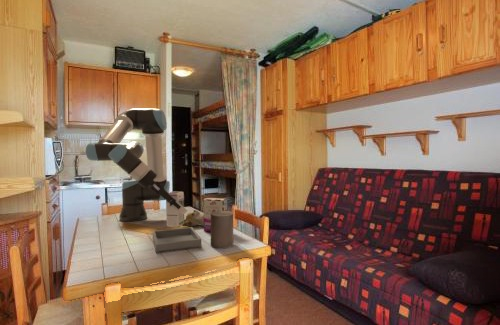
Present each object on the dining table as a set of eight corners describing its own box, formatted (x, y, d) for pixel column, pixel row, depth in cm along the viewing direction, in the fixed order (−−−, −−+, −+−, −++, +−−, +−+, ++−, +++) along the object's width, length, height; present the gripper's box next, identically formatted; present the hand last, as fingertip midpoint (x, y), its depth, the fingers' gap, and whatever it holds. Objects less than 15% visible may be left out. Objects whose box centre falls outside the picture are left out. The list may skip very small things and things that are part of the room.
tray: (152, 238, 128) (152, 231, 128) (192, 234, 135) (192, 227, 135) (156, 253, 110) (155, 244, 109) (201, 247, 117) (201, 239, 116)
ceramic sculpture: (206, 211, 146) (177, 213, 145) (207, 227, 146) (178, 229, 145) (208, 207, 156) (181, 209, 156) (209, 222, 157) (182, 224, 156)
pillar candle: (206, 244, 121) (206, 209, 120) (225, 239, 127) (224, 206, 126) (219, 250, 113) (218, 213, 113) (238, 245, 119) (238, 210, 119)
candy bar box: (227, 230, 141) (227, 198, 140) (223, 233, 136) (223, 200, 136) (207, 228, 145) (207, 197, 144) (203, 231, 140) (203, 198, 139)
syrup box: (178, 227, 118) (178, 193, 118) (165, 226, 119) (165, 192, 119) (184, 224, 124) (184, 191, 123) (172, 223, 125) (172, 190, 124)
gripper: (136, 179, 124) (174, 212, 131) (137, 184, 105) (181, 222, 112) (149, 167, 126) (185, 200, 133) (151, 170, 107) (194, 208, 114)
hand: (183, 210), depth 123 cm, fingers closed on syrup box, 7 cm apart
